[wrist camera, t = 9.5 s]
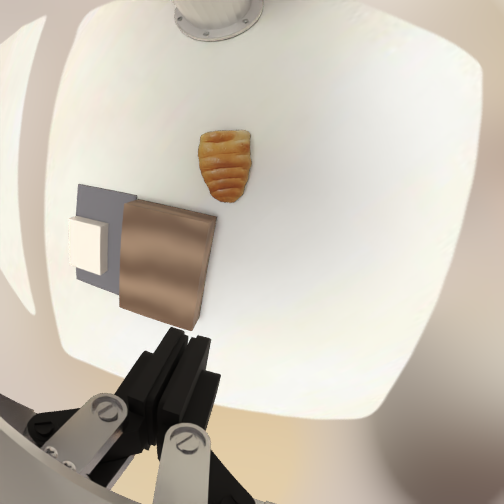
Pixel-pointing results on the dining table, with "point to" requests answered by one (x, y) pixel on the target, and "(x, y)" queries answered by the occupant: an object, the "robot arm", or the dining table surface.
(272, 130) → the dining table surface
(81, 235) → the tile
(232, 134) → the pastry
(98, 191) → the mat
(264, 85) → the dining table surface
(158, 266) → the serving board
